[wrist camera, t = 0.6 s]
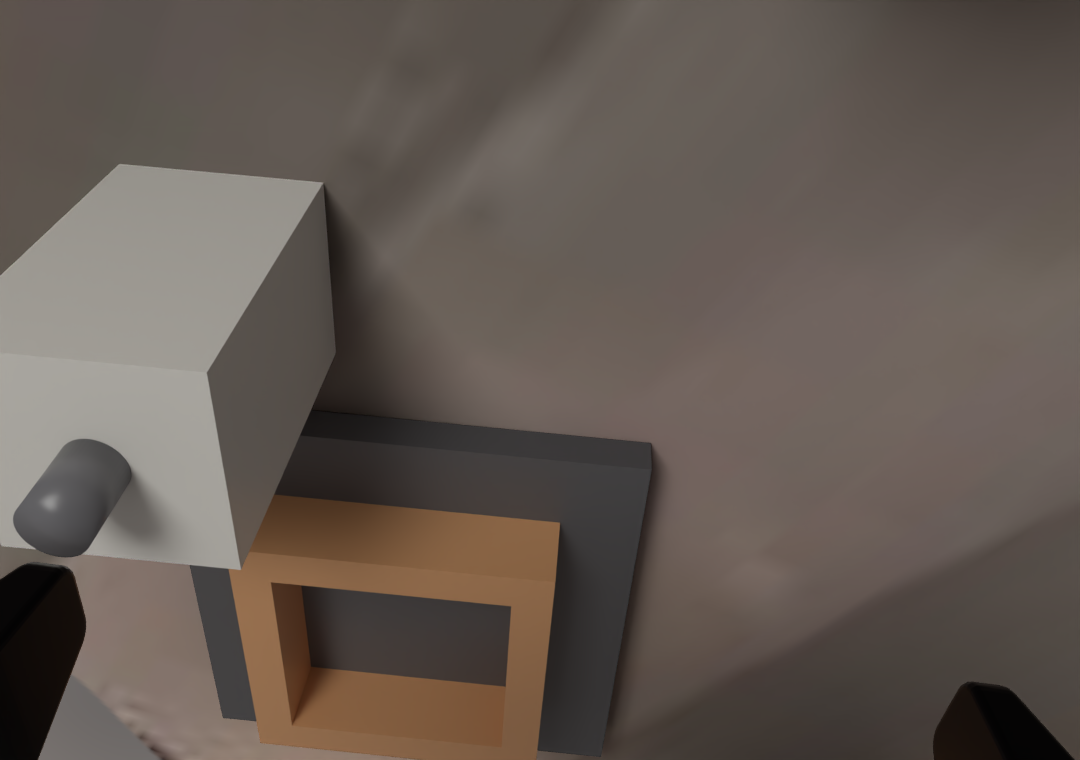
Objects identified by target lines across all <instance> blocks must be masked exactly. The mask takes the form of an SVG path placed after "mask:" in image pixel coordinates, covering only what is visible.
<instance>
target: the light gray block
mask: <svg viewBox="0 0 1080 760" xmlns="http://www.w3.org/2000/svg"><path fill="white" fill-rule="evenodd" d="M335 354H336V347H335V333H334V320H333V306H332V293H331V280H330V266H329V253H328V239H327V226H326V212H325V199H324V185H323V183H321V182H310V181H299V180H288V179H277V178H266V177H255V176H245V175H234V174H223V173H212V172H201V171H190V170H179V169H168V168H157V167H146V166H135V165H124V164H119V165H118V166H117V167H116V168H115V169H114V170H112V171H111V172H110V173H109V174H108V175H107V176H106V177H105V178H104V179H103V180H102V181H101V182H100V183H99V184H98V185H96V186H95V187H94V188H93V189H92V190H91V191H90V192H89V193H88V194H87V195H86V196H85V197H84V198H83V199H82V200H81V201H79V202H78V203H77V204H76V205H75V206H74V207H73V208H72V209H71V210H70V211H69V212H68V213H67V214H66V215H65V216H63V217H62V218H61V219H60V220H59V221H58V222H57V223H56V224H55V225H54V226H53V227H52V228H51V229H50V230H49V231H47V232H46V233H45V234H44V235H43V236H42V237H41V238H40V239H39V240H38V241H37V242H36V243H35V244H34V245H33V246H31V247H30V248H29V249H28V250H27V251H26V252H25V253H24V254H23V255H22V256H21V257H20V258H19V259H18V260H17V261H16V262H14V263H13V264H12V265H11V266H10V267H9V268H8V269H7V270H6V271H5V272H4V273H3V274H2V275H1V276H0V543H1V546H7V547H17V548H27V549H37V550H39V551H41V552H44V553H46V554H49V555H53V556H58V557H74V556H78V555H81V554H87V555H97V556H107V557H117V558H127V559H137V560H146V561H156V562H166V563H176V564H186V565H196V566H206V567H216V568H226V569H236V570H241V569H242V566H243V564H244V562H245V560H246V557H247V555H248V553H249V550H250V548H251V546H252V544H253V541H254V539H255V537H256V534H257V532H258V530H259V528H260V525H261V523H262V521H263V518H264V516H265V514H266V512H267V509H268V507H269V505H270V502H271V500H272V498H273V496H274V493H275V491H276V489H277V486H278V484H279V482H280V480H281V477H282V475H283V473H284V470H285V468H286V466H287V464H288V461H289V459H290V457H291V454H292V452H293V450H294V448H295V445H296V443H297V441H298V438H299V436H300V434H301V432H302V429H303V427H304V425H305V422H306V420H307V418H308V416H309V413H310V411H311V409H312V406H313V404H314V402H315V400H316V397H317V395H318V393H319V391H320V388H321V386H322V384H323V381H324V379H325V377H326V375H327V372H328V370H329V368H330V365H331V363H332V361H333V359H334V356H335Z"/></svg>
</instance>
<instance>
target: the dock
mask: <svg viewBox="0 0 1080 760" xmlns="http://www.w3.org/2000/svg"><path fill="white" fill-rule="evenodd" d="M651 471H652V465H651V443H644V442H633V441H623V440H613V439H602V438H592V437H581V436H571V435H561V434H550V433H540V432H530V431H519V430H509V429H498V428H488V427H478V426H467V425H457V424H447V423H436V422H426V421H416V420H405V419H395V418H384V417H374V416H364V415H353V414H343V413H333V412H322V411H312V410H311V411H310V413H309V416H308V418H307V420H306V422H305V425H304V427H303V429H302V432H301V434H300V436H299V438H298V441H297V443H296V445H295V448H294V450H293V452H292V454H291V457H290V459H289V461H288V464H287V466H286V468H285V470H284V473H283V475H282V477H281V480H280V482H279V484H278V486H277V489H276V491H275V493H274V496H273V498H272V500H271V502H270V505H269V507H268V509H267V512H266V514H265V516H264V518H263V521H262V523H261V525H260V528H259V530H258V532H257V534H256V537H255V539H254V541H253V544H252V546H251V548H250V550H249V553H248V555H247V557H246V560H245V562H244V564H243V566H242V569H241V570H236V569H226V568H216V567H206V566H196V565H190V569H191V573H192V578H193V583H194V587H195V592H196V596H197V601H198V605H199V610H200V615H201V619H202V624H203V628H204V633H205V638H206V642H207V647H208V651H209V656H210V661H211V665H212V670H213V674H214V679H215V684H216V688H217V693H218V697H219V702H220V706H221V711H222V716H223V718H230V719H239V720H249V721H257V726H258V732H259V737H260V743H266V744H275V745H285V746H295V747H304V748H314V749H323V750H333V751H343V752H352V753H362V754H371V755H381V756H391V757H400V758H410V759H420V760H536V757H537V750H538V751H548V752H558V753H567V754H577V755H587V756H596V757H601V754H602V748H603V742H604V737H605V731H606V725H607V720H608V714H609V708H610V703H611V697H612V691H613V686H614V680H615V674H616V669H617V663H618V657H619V652H620V646H621V640H622V635H623V629H624V623H625V618H626V612H627V606H628V601H629V595H630V589H631V584H632V578H633V573H634V567H635V561H636V556H637V550H638V544H639V539H640V533H641V527H642V522H643V516H644V510H645V505H646V499H647V493H648V488H649V482H650V476H651Z"/></svg>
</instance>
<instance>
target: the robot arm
mask: <svg viewBox="0 0 1080 760" xmlns="http://www.w3.org/2000/svg"><path fill="white" fill-rule="evenodd" d="M85 632H86V618H85V614H84V610H83V606H82V602H81V599H80V595H79V591H78V587H77V584H76V580H75V576H74V574H73V572H72V571H71V570H70V569H69V568H68V567H66V566H62V565H54V564H47V563H39V562H30V563H27V564H24V565H22V566H20V567H18V568H17V569H15V570H14V571H12V572H11V573H9V574H8V575H6V576H5V577H3V578H2V579H0V760H38V758H39V756H40V753H41V750H42V748H43V745H44V743H45V740H46V738H47V735H48V732H49V730H50V727H51V724H52V722H53V719H54V717H55V714H56V712H57V709H58V706H59V704H60V701H61V699H62V696H63V693H64V691H65V688H66V686H67V683H68V680H69V678H70V675H71V673H72V670H73V667H74V665H75V662H76V660H77V657H78V654H79V652H80V649H81V647H82V644H83V641H84V637H85ZM933 753H934V760H1074V758H1073V757H1072V756H1071V755H1070V754H1069V753H1068V752H1067V751H1066V750H1065V748H1064V747H1063V746H1062V745H1061V744H1060V743H1059V742H1058V741H1057V740H1056V738H1055V737H1054V736H1053V735H1052V734H1051V733H1050V732H1049V731H1048V730H1047V729H1046V727H1045V726H1044V725H1043V724H1042V723H1041V722H1040V721H1039V720H1038V719H1037V717H1036V716H1035V715H1034V714H1033V713H1032V712H1031V711H1030V710H1029V709H1028V707H1027V706H1026V705H1025V704H1024V703H1023V702H1022V701H1021V700H1020V699H1019V697H1018V696H1017V695H1016V694H1015V693H1014V692H1012V691H1011V690H1010V689H1008V688H1006V687H1004V686H1001V685H995V684H987V683H979V682H967V683H965V684H963V685H962V686H961V687H960V688H959V689H958V691H957V693H956V695H955V696H954V698H953V700H952V701H951V703H950V705H949V707H948V708H947V710H946V712H945V714H944V715H943V717H942V719H941V721H940V722H939V724H938V726H937V728H936V731H935V734H934V741H933Z"/></svg>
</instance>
